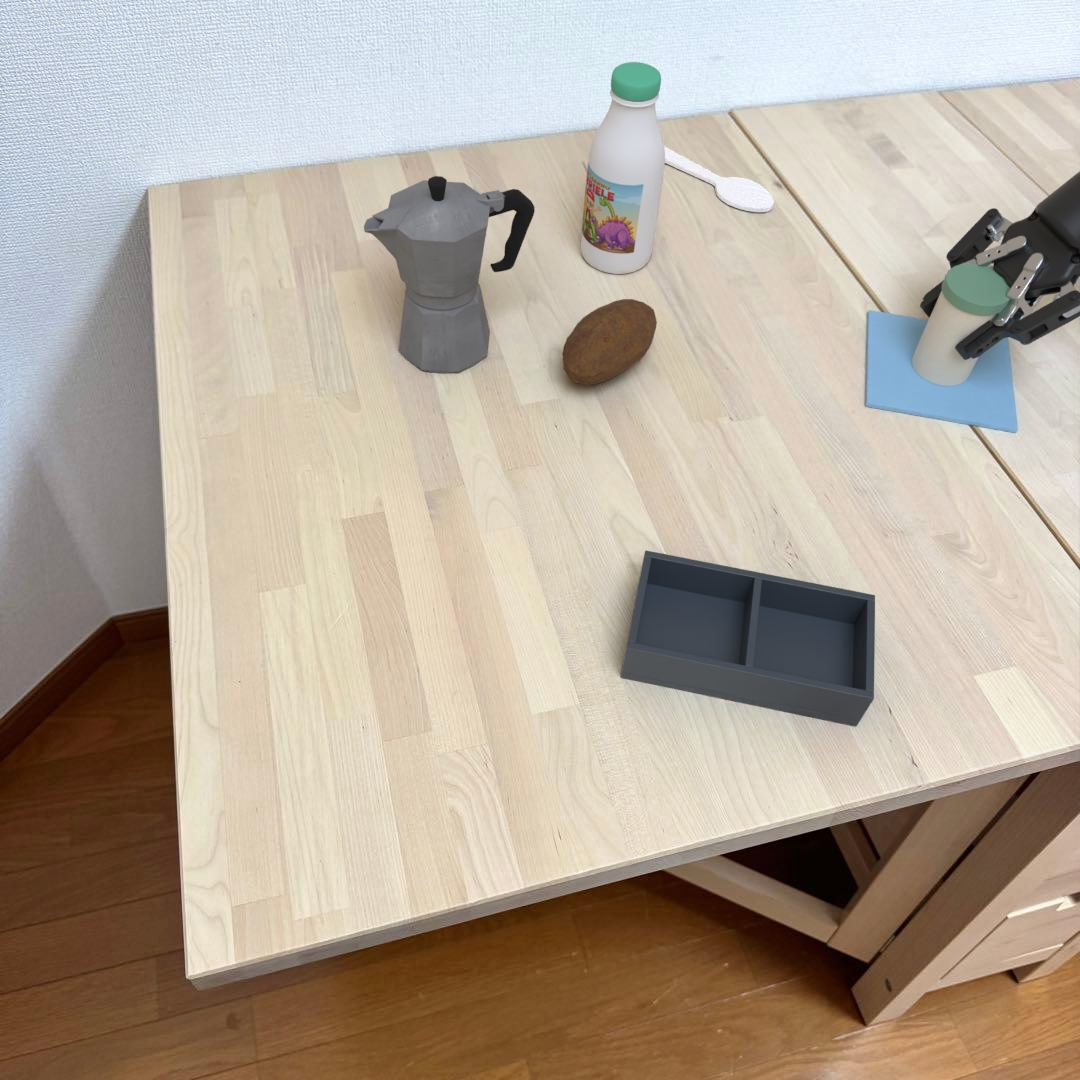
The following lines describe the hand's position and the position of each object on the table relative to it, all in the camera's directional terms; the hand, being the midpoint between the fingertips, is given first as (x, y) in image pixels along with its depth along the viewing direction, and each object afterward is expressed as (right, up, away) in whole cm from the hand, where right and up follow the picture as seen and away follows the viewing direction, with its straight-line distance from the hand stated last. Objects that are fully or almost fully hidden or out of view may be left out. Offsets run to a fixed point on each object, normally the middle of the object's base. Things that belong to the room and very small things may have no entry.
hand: (942, 331), depth 94 cm
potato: (-32, -3, +3) cm, 32 cm away
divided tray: (-22, -28, -16) cm, 39 cm away
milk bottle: (-30, +11, +14) cm, 35 cm away
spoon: (-18, +23, +23) cm, 37 cm away
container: (+1, -3, +4) cm, 5 cm away
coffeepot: (-46, 0, +4) cm, 46 cm away
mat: (+1, -3, +4) cm, 5 cm away
